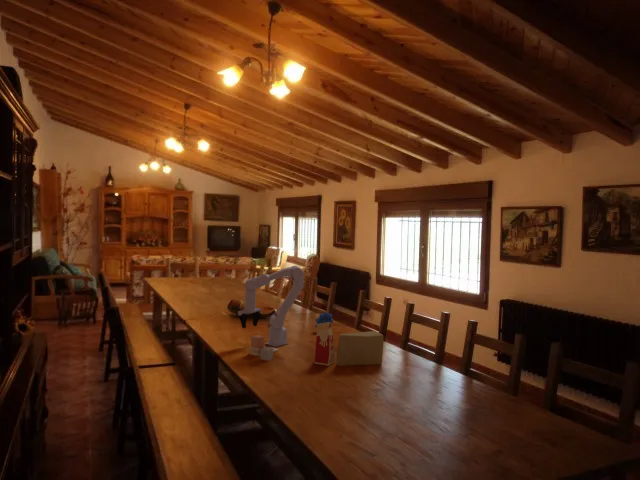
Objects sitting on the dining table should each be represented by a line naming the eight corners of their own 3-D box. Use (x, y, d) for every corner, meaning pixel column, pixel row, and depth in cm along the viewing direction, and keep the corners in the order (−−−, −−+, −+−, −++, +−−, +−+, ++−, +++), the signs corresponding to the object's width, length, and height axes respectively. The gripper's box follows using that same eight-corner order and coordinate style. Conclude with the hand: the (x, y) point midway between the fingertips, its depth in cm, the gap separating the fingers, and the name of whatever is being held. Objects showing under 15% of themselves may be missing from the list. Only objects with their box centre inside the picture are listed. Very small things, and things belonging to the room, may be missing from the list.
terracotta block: (263, 346, 243) (264, 336, 243) (256, 348, 240) (257, 338, 240) (258, 344, 246) (258, 335, 246) (251, 346, 243) (251, 336, 243)
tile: (269, 347, 256) (269, 346, 256) (278, 350, 251) (278, 349, 251) (259, 349, 250) (259, 348, 250) (268, 352, 246) (268, 351, 246)
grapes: (330, 329, 302) (330, 310, 301) (334, 332, 295) (335, 312, 295) (312, 330, 297) (313, 310, 297) (316, 332, 291) (317, 313, 291)
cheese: (340, 368, 225) (342, 337, 224) (332, 362, 234) (334, 332, 233) (383, 365, 233) (384, 334, 232) (373, 359, 242) (375, 329, 241)
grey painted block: (265, 357, 239) (265, 347, 239) (272, 358, 237) (273, 348, 237) (260, 359, 235) (260, 349, 235) (267, 360, 233) (268, 350, 233)
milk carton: (335, 360, 237) (336, 320, 236) (329, 366, 228) (331, 324, 227) (317, 358, 240) (319, 318, 239) (311, 363, 231) (312, 322, 230)
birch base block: (257, 351, 248) (257, 344, 247) (265, 354, 244) (266, 346, 244) (249, 354, 243) (249, 346, 242) (258, 356, 239) (258, 348, 239)
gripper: (255, 299, 265) (254, 323, 266) (234, 302, 254) (233, 327, 255) (264, 301, 261) (263, 325, 261) (243, 304, 250) (242, 330, 250)
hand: (249, 326), depth 258 cm, fingers open, 7 cm apart
